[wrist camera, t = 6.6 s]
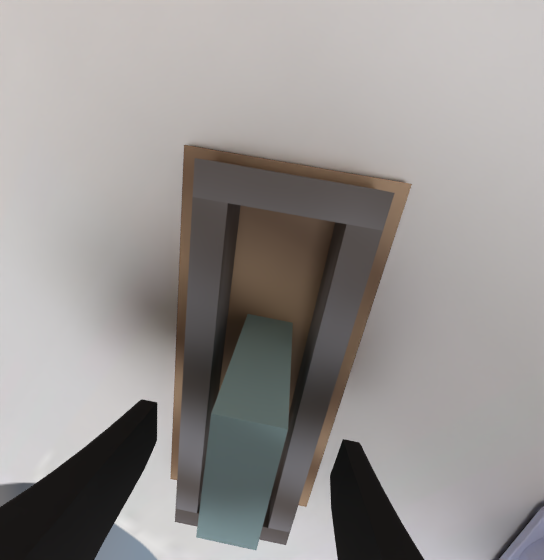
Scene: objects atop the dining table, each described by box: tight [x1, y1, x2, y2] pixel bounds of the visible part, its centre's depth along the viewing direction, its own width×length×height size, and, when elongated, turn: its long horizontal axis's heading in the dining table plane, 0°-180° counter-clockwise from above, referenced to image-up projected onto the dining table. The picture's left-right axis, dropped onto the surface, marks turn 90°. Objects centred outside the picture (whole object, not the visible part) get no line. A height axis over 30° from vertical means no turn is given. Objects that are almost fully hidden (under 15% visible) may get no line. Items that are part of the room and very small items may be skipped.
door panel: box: [196, 314, 293, 550], centre depth 12 cm, size 6×2×6 cm, turn 170°
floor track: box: [171, 145, 412, 545], centre depth 14 cm, size 20×9×3 cm, turn 171°
